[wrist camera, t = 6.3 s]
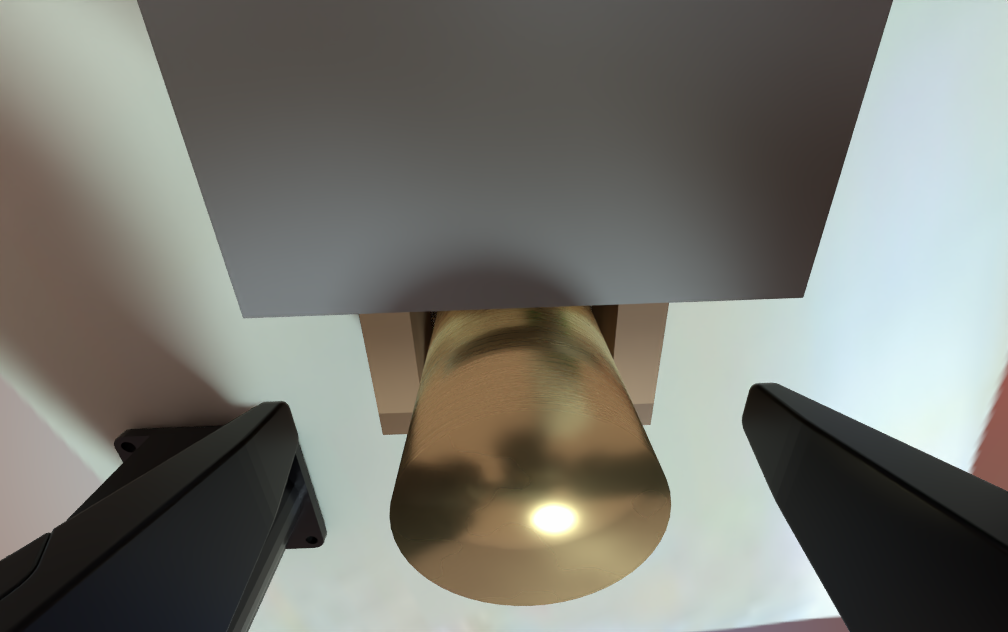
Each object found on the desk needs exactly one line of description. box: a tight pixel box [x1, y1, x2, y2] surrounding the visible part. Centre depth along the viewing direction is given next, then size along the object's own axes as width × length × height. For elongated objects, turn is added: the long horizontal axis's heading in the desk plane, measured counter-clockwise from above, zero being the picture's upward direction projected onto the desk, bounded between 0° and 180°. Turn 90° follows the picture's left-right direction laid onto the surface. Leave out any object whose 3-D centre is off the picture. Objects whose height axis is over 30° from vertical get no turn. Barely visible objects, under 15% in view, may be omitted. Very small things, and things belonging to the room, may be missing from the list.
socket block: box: [137, 0, 893, 435], centre depth 10 cm, size 10×8×8 cm
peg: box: [390, 306, 671, 606], centre depth 10 cm, size 4×4×9 cm
